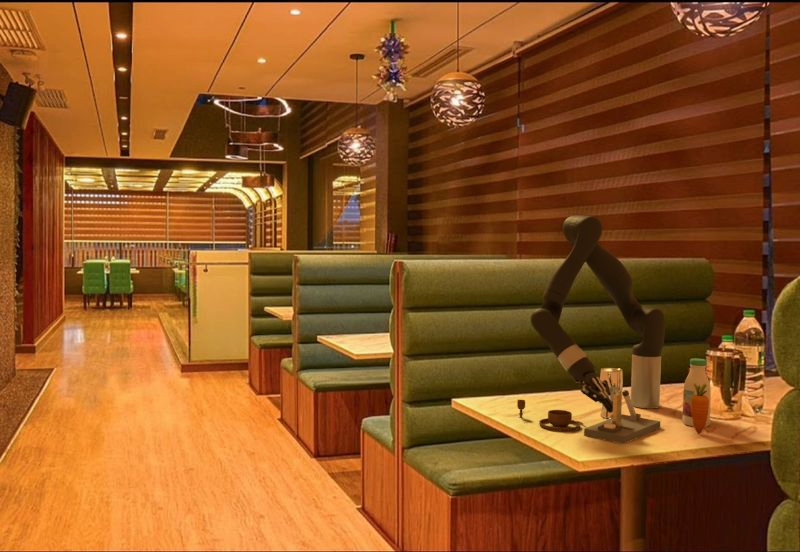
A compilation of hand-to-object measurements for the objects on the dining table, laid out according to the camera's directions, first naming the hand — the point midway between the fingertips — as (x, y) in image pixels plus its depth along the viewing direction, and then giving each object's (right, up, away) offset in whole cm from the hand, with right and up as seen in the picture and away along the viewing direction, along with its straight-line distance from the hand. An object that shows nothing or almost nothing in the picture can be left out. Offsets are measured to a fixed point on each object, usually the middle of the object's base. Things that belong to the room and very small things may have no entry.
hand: (613, 410), depth 214 cm
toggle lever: (+9, -4, +7) cm, 12 cm away
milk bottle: (+28, -6, +11) cm, 31 cm away
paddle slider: (+1, -4, -1) cm, 4 cm away
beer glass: (+5, -6, +19) cm, 20 cm away
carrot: (+25, -7, -1) cm, 26 cm away
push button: (-3, -5, -5) cm, 7 cm away
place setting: (-15, -6, +10) cm, 20 cm away
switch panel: (+3, -6, +1) cm, 7 cm away
